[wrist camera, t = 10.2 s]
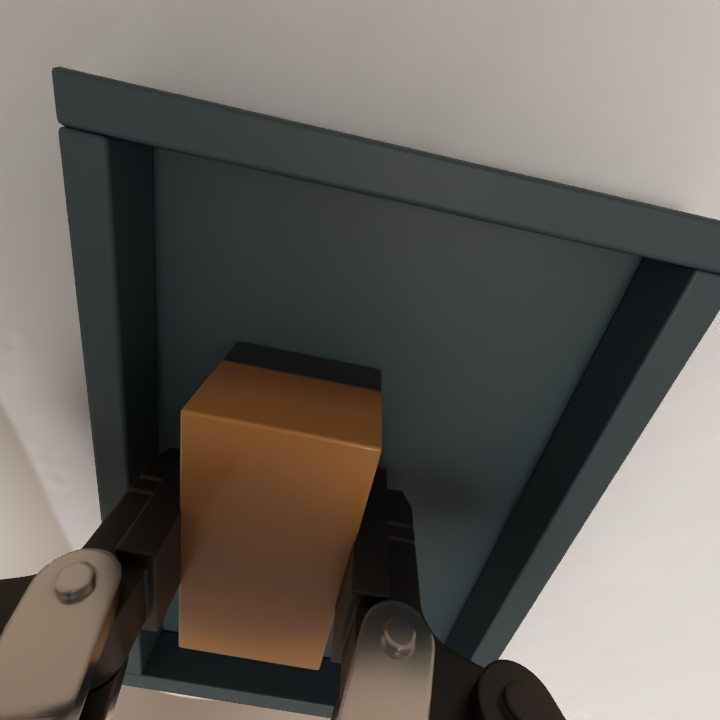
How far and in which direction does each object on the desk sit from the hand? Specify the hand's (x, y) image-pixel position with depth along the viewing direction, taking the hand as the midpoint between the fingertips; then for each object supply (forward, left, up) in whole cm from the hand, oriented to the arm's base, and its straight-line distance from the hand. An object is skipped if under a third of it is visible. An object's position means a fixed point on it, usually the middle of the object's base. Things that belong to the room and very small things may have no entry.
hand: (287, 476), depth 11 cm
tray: (+1, +1, -1) cm, 2 cm away
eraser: (0, 0, 0) cm, 0 cm away
